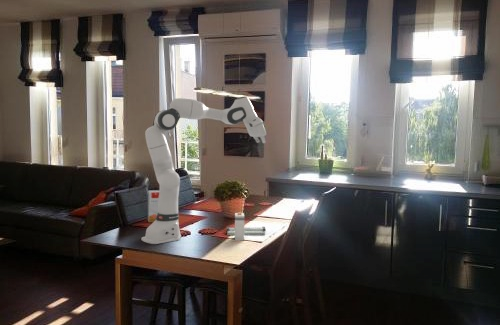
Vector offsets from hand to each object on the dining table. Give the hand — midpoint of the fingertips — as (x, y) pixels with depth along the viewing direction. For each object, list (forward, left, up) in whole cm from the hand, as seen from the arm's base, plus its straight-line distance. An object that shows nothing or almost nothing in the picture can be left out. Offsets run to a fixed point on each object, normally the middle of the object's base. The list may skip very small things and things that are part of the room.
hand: (261, 142), depth 259 cm
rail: (-11, +2, -52) cm, 53 cm away
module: (-23, -4, -53) cm, 58 cm away
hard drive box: (-29, +62, -54) cm, 87 cm away
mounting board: (-11, +2, -53) cm, 55 cm away
